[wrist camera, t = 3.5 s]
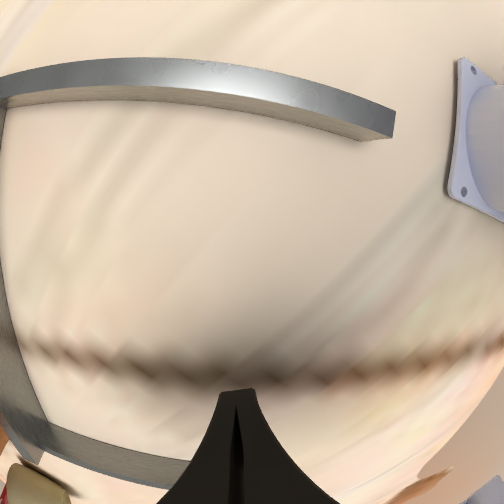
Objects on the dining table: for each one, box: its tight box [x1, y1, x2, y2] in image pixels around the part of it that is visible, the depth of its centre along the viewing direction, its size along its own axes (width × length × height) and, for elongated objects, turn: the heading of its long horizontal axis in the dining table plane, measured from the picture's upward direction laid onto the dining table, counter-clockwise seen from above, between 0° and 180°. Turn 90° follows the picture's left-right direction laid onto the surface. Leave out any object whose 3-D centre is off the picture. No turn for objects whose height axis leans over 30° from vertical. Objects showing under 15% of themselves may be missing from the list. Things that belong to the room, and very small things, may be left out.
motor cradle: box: [0, 58, 396, 490], centre depth 9 cm, size 26×25×6 cm
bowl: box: [6, 463, 71, 504], centre depth 15 cm, size 10×10×7 cm
